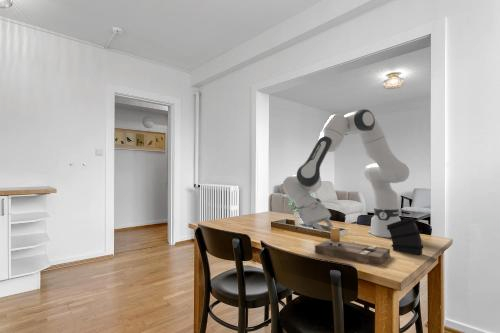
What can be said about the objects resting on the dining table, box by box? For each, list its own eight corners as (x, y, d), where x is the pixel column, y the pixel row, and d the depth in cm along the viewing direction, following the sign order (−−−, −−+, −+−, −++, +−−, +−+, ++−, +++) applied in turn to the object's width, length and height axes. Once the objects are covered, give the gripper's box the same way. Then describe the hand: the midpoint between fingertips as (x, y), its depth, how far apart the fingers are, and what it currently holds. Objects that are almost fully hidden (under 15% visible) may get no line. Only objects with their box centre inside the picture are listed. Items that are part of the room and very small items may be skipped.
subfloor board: (329, 245, 130) (329, 238, 130) (389, 256, 113) (389, 248, 113) (315, 252, 119) (315, 245, 119) (379, 265, 102) (379, 256, 102)
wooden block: (333, 249, 123) (332, 226, 123) (341, 251, 121) (341, 228, 121) (329, 251, 120) (329, 228, 121) (337, 253, 118) (337, 229, 118)
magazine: (428, 253, 111) (410, 217, 116) (397, 260, 120) (381, 227, 125) (431, 251, 114) (413, 216, 118) (400, 258, 122) (385, 225, 127)
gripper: (299, 202, 120) (321, 228, 114) (321, 198, 136) (341, 221, 129) (291, 212, 123) (311, 237, 117) (313, 207, 139) (332, 229, 132)
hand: (327, 229), depth 123 cm, fingers open, 8 cm apart
